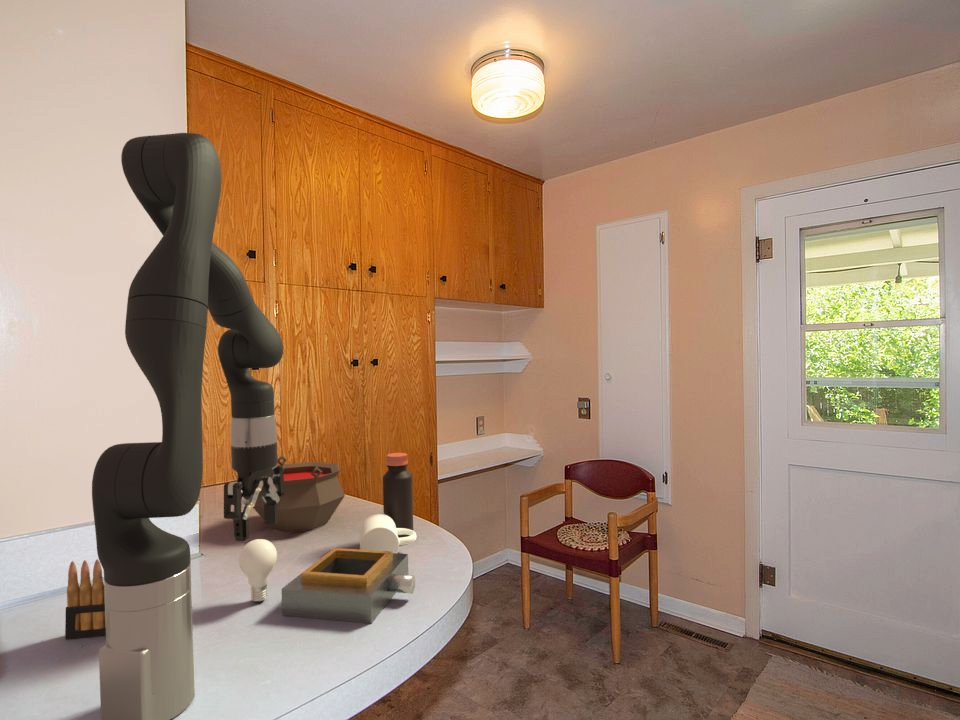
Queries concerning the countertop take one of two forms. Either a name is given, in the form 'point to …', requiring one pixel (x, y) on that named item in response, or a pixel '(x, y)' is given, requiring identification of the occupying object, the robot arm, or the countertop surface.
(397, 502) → the bottle
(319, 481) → the brown cauldron
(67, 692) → the countertop surface
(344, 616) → the grey shallow box
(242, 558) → the lightbulb
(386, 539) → the mug
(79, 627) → the ammunition clip
